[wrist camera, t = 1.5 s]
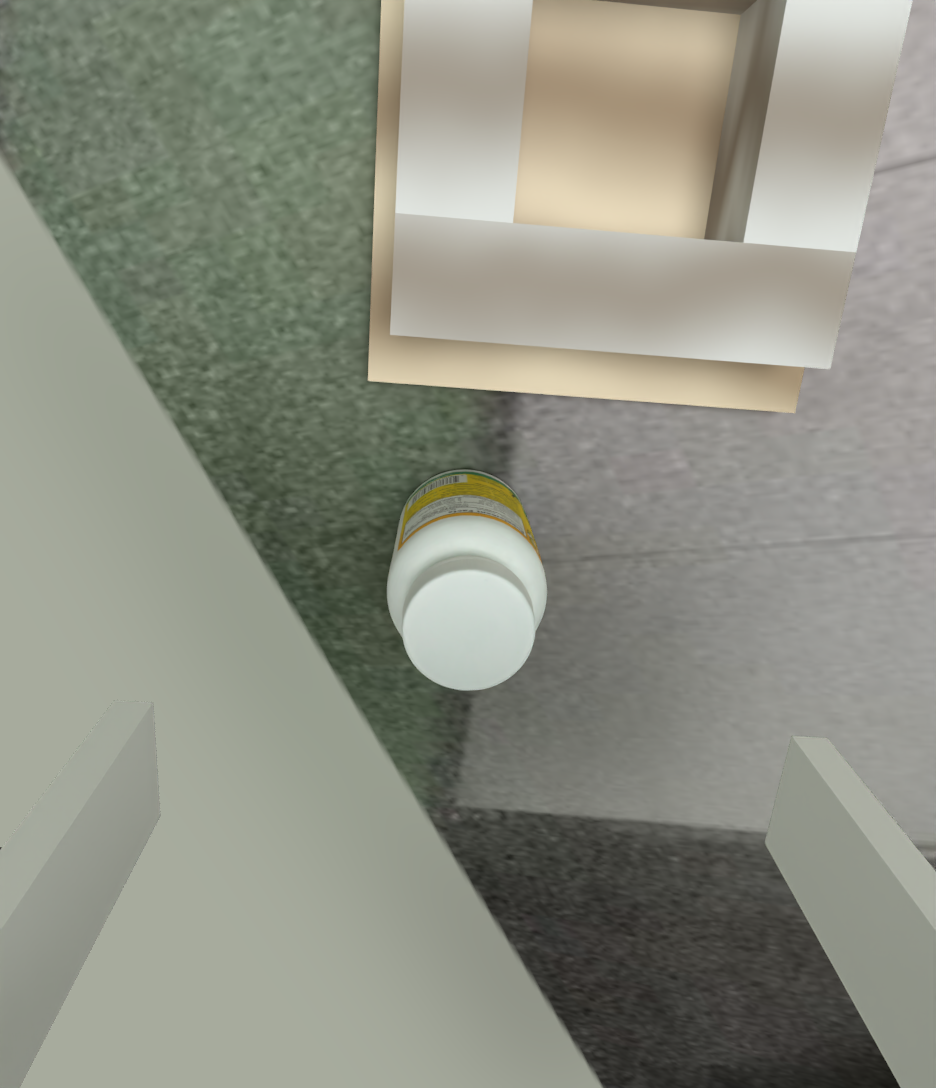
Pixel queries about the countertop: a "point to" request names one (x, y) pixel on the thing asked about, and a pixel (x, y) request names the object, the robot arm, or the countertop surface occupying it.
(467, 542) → the supplement bottle
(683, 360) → the block
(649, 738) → the countertop surface
